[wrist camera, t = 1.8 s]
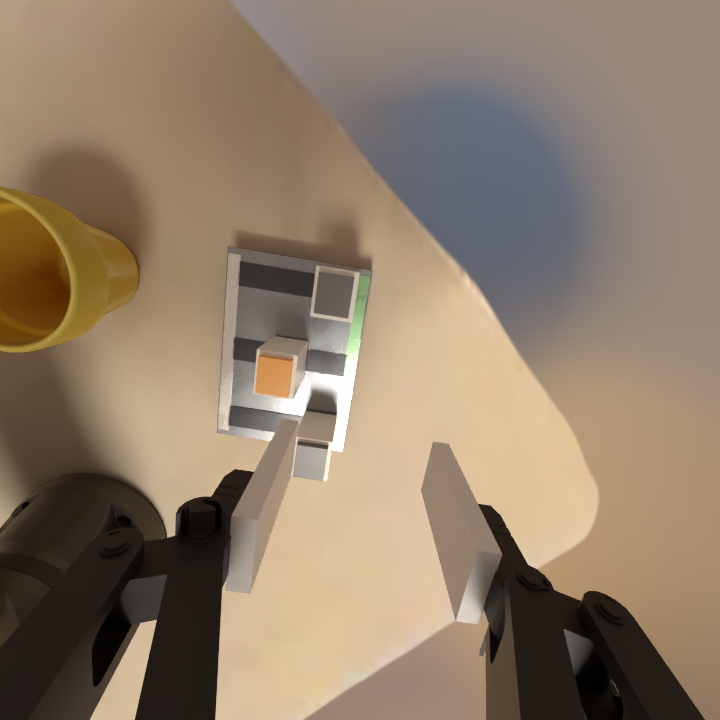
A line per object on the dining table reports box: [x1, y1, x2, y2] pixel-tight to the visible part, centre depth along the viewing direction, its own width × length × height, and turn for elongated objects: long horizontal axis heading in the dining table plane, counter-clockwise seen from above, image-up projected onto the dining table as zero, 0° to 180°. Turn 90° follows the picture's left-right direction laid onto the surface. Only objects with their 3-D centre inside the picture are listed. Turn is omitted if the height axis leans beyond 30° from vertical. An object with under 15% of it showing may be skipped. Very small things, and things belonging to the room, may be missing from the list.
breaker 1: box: [253, 336, 308, 400], centre depth 28 cm, size 3×4×6 cm
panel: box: [217, 246, 372, 452], centre depth 32 cm, size 12×17×2 cm
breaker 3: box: [291, 411, 337, 481], centre depth 30 cm, size 3×4×6 cm
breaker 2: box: [310, 266, 360, 323], centre depth 26 cm, size 3×4×6 cm
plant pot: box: [0, 187, 139, 353], centre depth 26 cm, size 10×10×10 cm
